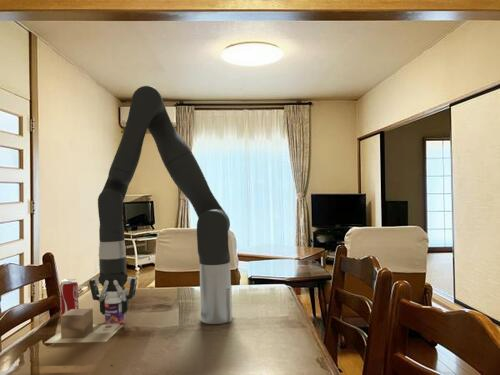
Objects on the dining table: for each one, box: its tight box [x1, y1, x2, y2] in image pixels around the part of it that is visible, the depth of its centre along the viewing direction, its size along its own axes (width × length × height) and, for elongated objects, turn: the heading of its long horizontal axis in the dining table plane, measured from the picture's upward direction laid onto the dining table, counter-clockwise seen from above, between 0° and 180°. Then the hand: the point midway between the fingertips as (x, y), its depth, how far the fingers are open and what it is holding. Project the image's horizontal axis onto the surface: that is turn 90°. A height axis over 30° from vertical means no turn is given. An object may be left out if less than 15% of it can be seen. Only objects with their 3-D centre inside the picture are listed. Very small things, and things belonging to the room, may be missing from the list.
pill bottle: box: [104, 291, 125, 324], centre depth 122 cm, size 5×5×10 cm
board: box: [44, 323, 125, 344], centre depth 112 cm, size 16×14×1 cm
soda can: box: [59, 278, 80, 316], centre depth 130 cm, size 5×5×12 cm
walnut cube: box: [60, 308, 94, 339], centre depth 111 cm, size 6×6×6 cm
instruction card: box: [93, 323, 121, 333], centre depth 115 cm, size 5×7×1 cm
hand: (114, 313), depth 122 cm, fingers closed on pill bottle, 5 cm apart
